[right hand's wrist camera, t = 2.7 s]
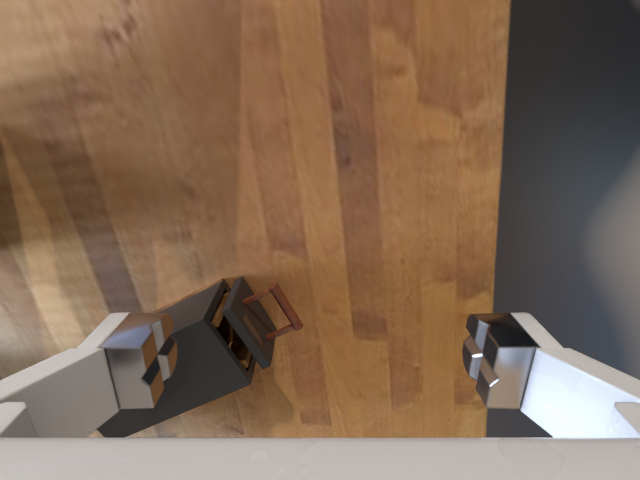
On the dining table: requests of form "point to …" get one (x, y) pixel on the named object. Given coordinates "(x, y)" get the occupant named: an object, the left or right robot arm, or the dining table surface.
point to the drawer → (251, 322)
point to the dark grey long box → (189, 365)
